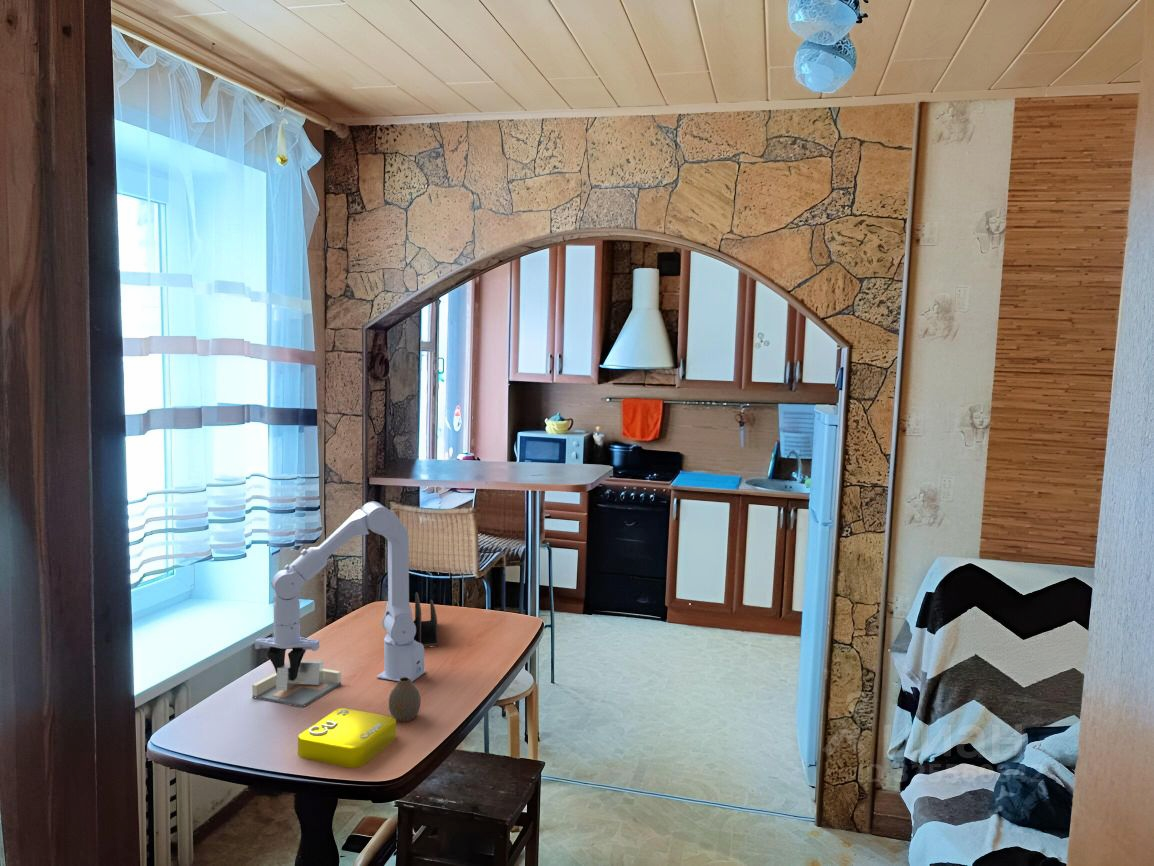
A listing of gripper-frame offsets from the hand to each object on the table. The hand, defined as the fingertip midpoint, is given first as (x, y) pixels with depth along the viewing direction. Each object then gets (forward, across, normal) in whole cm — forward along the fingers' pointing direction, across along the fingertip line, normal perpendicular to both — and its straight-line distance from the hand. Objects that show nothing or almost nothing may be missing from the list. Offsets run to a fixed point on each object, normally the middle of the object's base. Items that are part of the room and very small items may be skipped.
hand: (287, 678), depth 181 cm
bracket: (+2, -2, -1) cm, 3 cm away
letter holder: (+4, -21, -41) cm, 46 cm away
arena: (+4, -2, -2) cm, 4 cm away
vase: (+4, -30, +10) cm, 32 cm away
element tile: (+4, -22, +23) cm, 32 cm away
